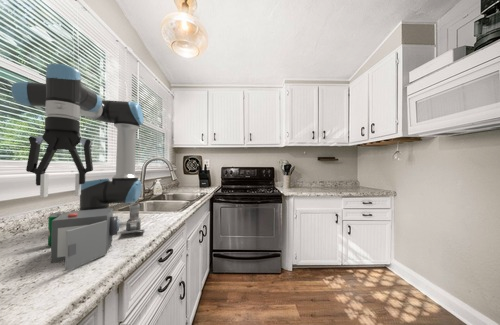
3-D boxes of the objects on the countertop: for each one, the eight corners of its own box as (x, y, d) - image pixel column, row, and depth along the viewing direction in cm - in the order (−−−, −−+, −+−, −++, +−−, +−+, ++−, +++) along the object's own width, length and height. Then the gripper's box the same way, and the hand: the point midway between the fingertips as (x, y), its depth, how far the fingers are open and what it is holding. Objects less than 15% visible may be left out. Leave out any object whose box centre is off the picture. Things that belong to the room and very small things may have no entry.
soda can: (51, 243, 77) (52, 212, 77) (68, 241, 79) (69, 210, 79) (44, 248, 72) (45, 215, 73) (62, 245, 74) (63, 213, 75)
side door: (63, 270, 56) (64, 230, 56) (104, 252, 67) (105, 220, 67) (68, 271, 55) (69, 231, 55) (109, 253, 66) (109, 220, 67)
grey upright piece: (144, 202, 99) (144, 208, 86) (144, 226, 99) (144, 236, 86) (124, 204, 95) (120, 210, 82) (123, 228, 95) (120, 239, 81)
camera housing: (66, 247, 73) (67, 209, 73) (119, 239, 81) (120, 205, 81) (50, 263, 61) (51, 218, 61) (115, 252, 68) (115, 212, 69)
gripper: (7, 111, 51) (4, 200, 50) (101, 119, 60) (100, 195, 60) (22, 117, 58) (20, 196, 57) (105, 124, 67) (104, 192, 66)
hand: (61, 195), depth 58 cm, fingers open, 7 cm apart
